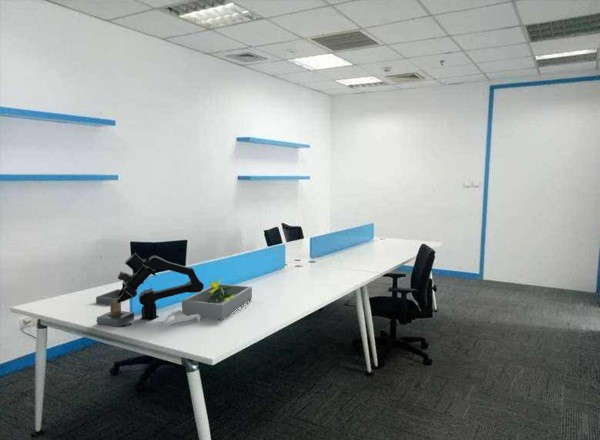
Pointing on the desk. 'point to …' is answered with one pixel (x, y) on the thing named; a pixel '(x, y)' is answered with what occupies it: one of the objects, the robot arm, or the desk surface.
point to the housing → (115, 319)
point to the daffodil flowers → (218, 291)
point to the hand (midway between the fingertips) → (117, 300)
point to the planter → (214, 310)
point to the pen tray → (107, 297)
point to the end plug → (115, 306)
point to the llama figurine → (180, 317)
